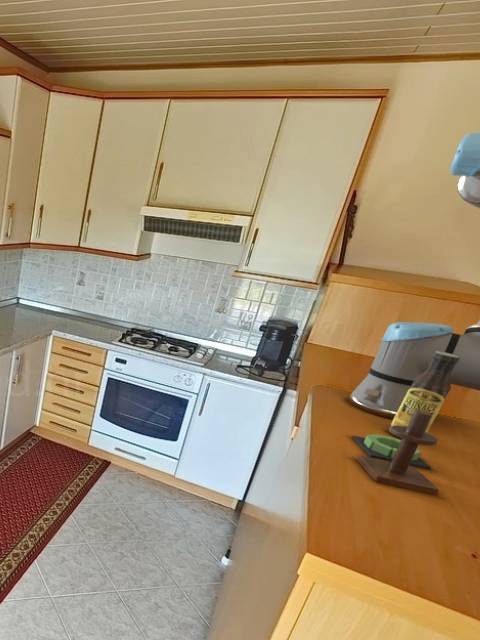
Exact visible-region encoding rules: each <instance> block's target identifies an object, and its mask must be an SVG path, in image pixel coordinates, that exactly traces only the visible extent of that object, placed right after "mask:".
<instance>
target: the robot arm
mask: <svg viewBox="0 0 480 640" xmlns="http://www.w3.org/2000/svg"><path fill="white" fill-rule="evenodd" d="M449 173H450V174H451V175H452V176H458V177H460V178H459V180H458V183H457V193H458V195H459V196H460V198H461V199H462V200H463V201H465V203H467V204H469V205H471V206H473V207H476V208H478V209H480V132H470V133H467V134H466V135H464V136H463V137H462V139H461V141H460V142H459V145H458V147H457V150H456V152H455V155H454V157H453V159H452V162H451V165H450V169H449ZM380 341H381V342H380V345H379V348H378V351H377V353H376V355H375V357H374V360H373V362H372V364H371V366H370V369H369V371H368V373H367V375H366V376H365V378H364V379H363V380H362V381H361V382H360V383H359V384H358V385H357V387H356V388H355V389H354V390H353V391H352V392H351V393H350V396H349V398H348V402H349V403H350V404H351V405H352V406H354V407H356V408H358V409H361V410H363V411H365V412H368V413H371V414H374V415H376V416H380V417H383V418H388V419H392V420H393V419H394V417H395V415H396V413H397V411H398V409H399V408H400V406H401V404H402V402H403V400H404V398H405V396H406V394H407V392H408V390H409V389H410V387H411V386H412V384H413V382H414V379H415V378H416V377H417V376H419V375H420V374H422V373H423V372H425V371H426V370H427V368H428V367H429V365H430V363H431V361H432V359H433V358H432V356H433V355H434V353H435V352H436V351H439V352H445V353H449V354H453V355H456V356H459V357H460V359H459V361H458V363H457V364H455V366H454V368H453V370H452V371H451V374H450V376H449V380H450V384H451V385H453V386H459V387H461V388H462V387H463V388H467V389H472V390H476V391H480V319H478V322H477V323H475V324H473V325H470V326H468V327H466V328H465V330H464V332H463V334H460V333H454V328H453V326H451V325H447V324H440V323H432V322H421V321H419V322H418V321H397V322H394V323H392V324H390V325H389V326H388V327H387V329H386V331H385V333H384V335H383V337H382V338H381V340H380Z"/></svg>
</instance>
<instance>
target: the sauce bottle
mask: <svg viewBox="0 0 480 640" xmlns="http://www.w3.org/2000/svg"><path fill="white" fill-rule="evenodd" d="M432 358H433V359H432V361H431V363H430V365H429V367H428V368H427V370H426V371H425V372H423V373H422V374H420V375H419V376H417V377H416V378H415V379H414V382H413V384H412V386H411V387H410V389H409V390H408V392H407V394H406V396H405V398H404V400H403V402H402V404H401V406H400V408H399V409H398V411H397V413H396V415H395V417H394V419H392V420H391V421H392V422H391V423H390V427H389V428H388V432H389V433H390V434H392V433H391V432H390V430H391V427H392V426H405V427H408V425H409V423H410V420H411V418H412V416H413V414H414V412H415V410H420V411H425V412H428V413H430V414H432V415H433V416H432V418H431V420H430V422H429V424H428V426H427V428H426V431H425V432H426V433H428V432H429V431H430V429H431V427H432V425H433V423H434V421H435V419H436V417H437V416H438V414H439V412H440V410H441V408H442V406H443V404H444V403H445V402H446V398H447V396H448V395H449V392H450V390H451V389H452V384H450V380H449V376H450V374H451V371H452V370H453V368H454V366H455V364H457V363H458V361H459V359H460V357H459V356H456V355H453V354H449V353H445V352H439V351H436V352H435V353H434V355H433V356H432ZM392 435H393V436H395V435H394V434H392ZM399 438H400V437H398V439H399ZM400 439H401V438H400Z"/></svg>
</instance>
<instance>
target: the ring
mask: <svg viewBox="0 0 480 640" xmlns="http://www.w3.org/2000/svg"><path fill="white" fill-rule="evenodd" d="M364 438H365V441H364V444H365V445H366V446H367V447H368V448H370V449H371V450H373V451H376V452H378V453H381V454H383V455H385V456H390V457H391V458H394V455H395V453H396V451H397V449H398V447H399V444H400V442H401V440H402V439H399V438H396V437H395V438H394V437H392V436H388V435H382V434H377V433H376V434H375V433H372V434H367V435H366V436H365V437H364ZM390 446H391V447H390ZM392 447H393V448H392ZM421 453H422V451H421V450H420V449H419V448H417V450H416V452H415V454H414V456H413V458H412V460H411V461H413V460H417V459H418V458H419V457H420V455H421Z"/></svg>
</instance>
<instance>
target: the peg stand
mask: <svg viewBox="0 0 480 640" xmlns="http://www.w3.org/2000/svg"><path fill="white" fill-rule="evenodd" d="M432 416H433V415H432V414H430V413H428V412H425V411H420V410H415V412H414V414H413V416H412V418H411V420H410V423H409V425H408V427H405V426H392V427H391V426H390V427H391V430H390V432H391V433H390V432H389V433H390V434H392V435H393V434H394V435H393V436H395V437H397V438H399V437H400V440H401V442H400V444H399V447H398V449H397V451H396V453H395V455H394V458H393V460H392V461H387V460H383V459H378V458H373V457H370V456H366V455H361V454H358V456H357V459H356V461H357V462H358V463H359V465H360V466H361V467H362V468H363V469H364V470H365V472H367V474H368V475H369V476H370V477H371V478H372V480H373V481H374V482H375V483H379V484H383V485H388V486H393V487H398V488H401V489H406V490H410V491H415V492H418V493H423V494H428V495H434V496H437V494H438V492H439V491H440V489H439V488H437V486H436V485H434V483H432V481H430V480H429V479H428V478H427V477H426V476H425V475H424V474H423V473H421V472H420V470H418V469H417V467H415V466H411V465H409V464H410V462H411V460H412V458H413V456H414V454H415V452H416V450H417V449H419V445H423V446H436V445H437V443H438V440H439V439H438V438H437V437H436V436H434V435H433V434H431V433H428V432H427V433H426V432H425V431H426V428H427V426H428V424H429V422H430V420H431V418H432Z"/></svg>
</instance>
